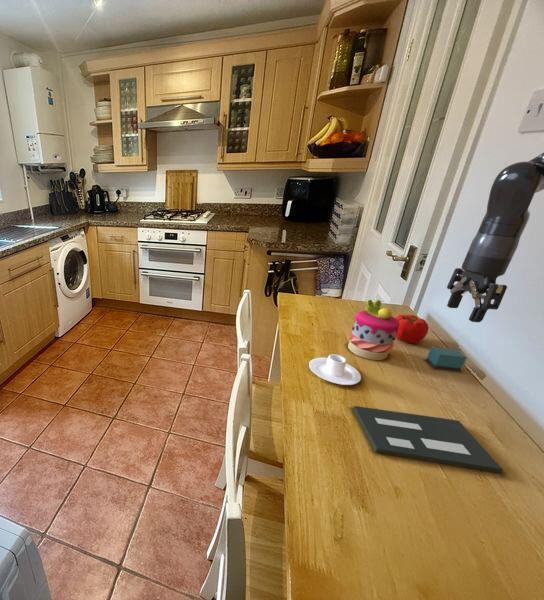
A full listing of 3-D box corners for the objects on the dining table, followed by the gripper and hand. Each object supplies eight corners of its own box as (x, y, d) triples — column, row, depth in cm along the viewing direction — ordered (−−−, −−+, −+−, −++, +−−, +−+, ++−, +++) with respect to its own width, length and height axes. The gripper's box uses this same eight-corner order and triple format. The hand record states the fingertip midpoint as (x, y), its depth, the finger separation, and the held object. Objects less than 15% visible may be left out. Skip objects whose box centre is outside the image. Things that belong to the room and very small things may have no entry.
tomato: (400, 330, 105) (407, 310, 102) (429, 343, 98) (438, 322, 95) (379, 334, 103) (386, 314, 100) (408, 348, 95) (416, 326, 92)
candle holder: (355, 393, 76) (360, 379, 75) (302, 374, 84) (306, 360, 82) (363, 371, 85) (368, 357, 83) (315, 354, 92) (318, 342, 90)
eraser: (450, 363, 88) (456, 349, 86) (460, 371, 85) (467, 357, 83) (425, 360, 89) (431, 346, 88) (434, 368, 86) (440, 354, 84)
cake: (396, 355, 92) (414, 308, 86) (374, 364, 88) (391, 315, 82) (360, 338, 100) (374, 294, 95) (338, 346, 96) (351, 301, 90)
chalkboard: (456, 424, 68) (458, 420, 67) (500, 473, 57) (503, 469, 56) (352, 409, 72) (353, 405, 71) (375, 452, 61) (376, 448, 61)
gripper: (535, 262, 68) (501, 328, 75) (486, 246, 81) (461, 304, 88) (493, 260, 70) (464, 325, 76) (452, 245, 83) (429, 302, 89)
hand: (462, 314), depth 82 cm, fingers open, 8 cm apart
